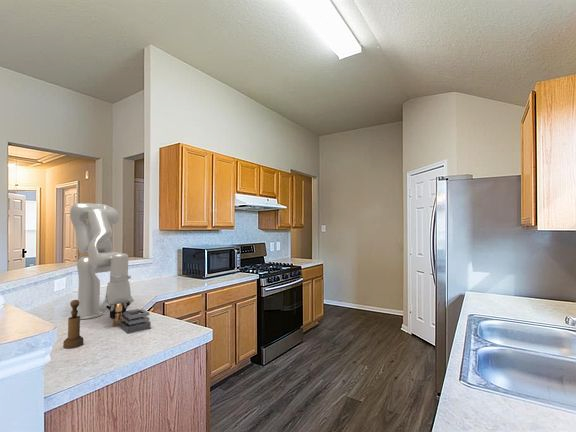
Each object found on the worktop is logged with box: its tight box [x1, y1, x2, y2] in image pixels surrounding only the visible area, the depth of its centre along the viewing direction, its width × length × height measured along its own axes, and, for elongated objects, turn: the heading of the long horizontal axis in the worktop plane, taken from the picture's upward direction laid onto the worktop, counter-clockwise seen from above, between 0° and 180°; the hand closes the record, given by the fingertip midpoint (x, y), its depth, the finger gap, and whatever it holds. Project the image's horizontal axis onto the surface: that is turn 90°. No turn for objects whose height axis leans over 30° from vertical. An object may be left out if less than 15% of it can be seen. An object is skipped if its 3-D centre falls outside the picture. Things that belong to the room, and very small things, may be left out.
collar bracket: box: [118, 308, 151, 335], centre depth 144 cm, size 11×10×7 cm
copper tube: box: [112, 303, 124, 328], centre depth 148 cm, size 4×4×11 cm
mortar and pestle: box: [62, 299, 84, 349], centre depth 123 cm, size 7×6×18 cm
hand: (117, 317), depth 148 cm, fingers closed on copper tube, 4 cm apart
